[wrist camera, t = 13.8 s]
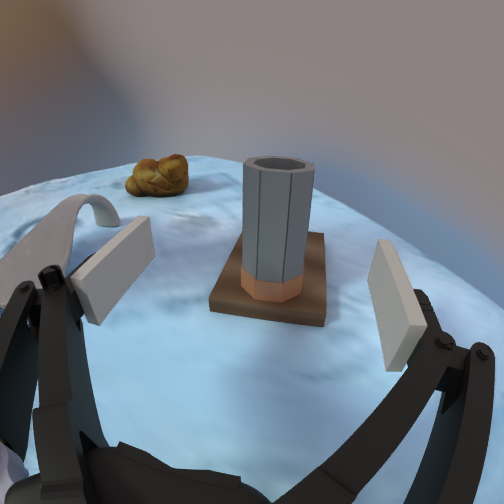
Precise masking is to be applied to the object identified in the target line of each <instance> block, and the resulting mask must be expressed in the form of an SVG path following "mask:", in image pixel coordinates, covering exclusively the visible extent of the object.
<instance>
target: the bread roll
mask: <svg viewBox="0 0 504 504" xmlns="http://www.w3.org/2000/svg"><path fill="white" fill-rule="evenodd" d="M188 178H189V177H188V163H187V160H186V158H185V157H184V156H182V155H179V154H178V155H177V154H174V155H171V156H170V157H165V158H162V159H160V160H158V161H155V160H154V159H143V160H141V161H140V162H139V163H138V164H137V165H136V166H135V167H134V169H133V175H132V176H130V177H129V178H128V180H127V181H126V184H125V188H126V190H127V192H128V193H129V194H131V195H135V196H146V195H150V196H158V197H164V196H171V195H176V194H179V193H181V192H183V191H184V190H185V189H186V188H187V186H188V182H189V181H188Z"/></svg>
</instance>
